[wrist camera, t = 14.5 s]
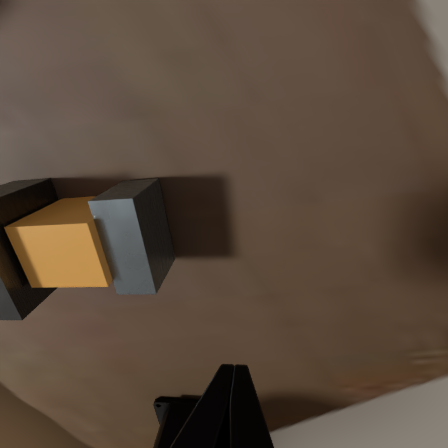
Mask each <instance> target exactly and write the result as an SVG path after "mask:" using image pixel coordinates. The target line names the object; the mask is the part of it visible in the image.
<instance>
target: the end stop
mask: <svg viewBox="0 0 448 448" xmlns="http://www.w3.org/2000/svg"><path fill="white" fill-rule="evenodd" d="M56 201H59V200H58V198H57V195H56V192H55V189H54V187H53V184H52V181H51V178H48V179H35V180H23V181H12V182H9V183H6V184H3V185H0V320H23V319H24V318H25V317H26V316H27V315H28V314H29V313H31V312H32V311H33V310H34V309H35V308H36V307H37V306H38V305H39V304H40V303H41V302H43V301H44V300H45V299H46V298H47V297H48V296H49V295H50V294H51V293H52V292H53V291H54V290H56V289H57V288H58V287H41V288H32V287H31V285H30V283H29V281H28V279H27V276H26V274H25V272H24V270H23V268H22V266H21V263H20V261H19V259H18V257H17V255H16V253H15V250H14V248H13V246H12V244H11V242H10V240H9V237H8V235H7V233H6V231H5V229H4V227H6V226H8V225H10V224H12V223H14V222H16V221H18V220H20V219H22V218H24V217H26V216H28V215H30V214H32V213H34V212H36V211H38V210H40V209H42V208H44V207H46V206H48V205H50V204H52V203H54V202H56Z"/></svg>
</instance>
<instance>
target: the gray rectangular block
mask: <svg viewBox="0 0 448 448" xmlns="http://www.w3.org/2000/svg"><path fill="white" fill-rule="evenodd" d="M88 204H89V207H90V210H91V213H92V216H93V220H94V223H95V226H96V229H97V232H98V235H99V238H100V242H101V245H102V248H103V251H104V254H105V257H106V260H107V264H108V267H109V270H110V273H111V276H112V279H113V283H114V286H115V289H116V292H117V294H156V293H157V292H158V290H159V288H160V286H161V284H162V282H163V281H164V279H165V277H166V275H167V273H168V271H169V270H170V268H171V266H172V264H173V262H174V260H175V256H174V251H173V246H172V241H171V236H170V231H169V226H168V221H167V216H166V211H165V206H164V202H163V197H162V192H161V187H160V182H159V178H156V179H143V180H130V181H122V182H120V183H118V184H117V185H115V186H113V187H111V188H110V189H108V190H106V191H105V192H103V193H101V194H99V195H98V196H96V197H94V198H93V199H91V200H89V201H88Z"/></svg>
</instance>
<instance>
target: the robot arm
mask: <svg viewBox="0 0 448 448" xmlns="http://www.w3.org/2000/svg"><path fill="white" fill-rule="evenodd" d="M153 405H154V409H155V412H156V415H157V418H158V421H159V424H160V427H159V430H158V434H157V437H156V440H155V443H154V447H153V448H274V446H273V443H272V440H271V437H270V434H269V431H268V427H267V424H266V421H265V418H264V415H263V412H262V409H261V406H260V403H259V400H258V397H257V393H256V390H255V387H254V384H253V381H252V378H251V375H250V372H249V369H248V366H247V365H239V364H237V365H235V366H234V365H233V364H222V365H221V366H220V367H219V369H218V371H217V372H216V374H215V375H214V377H213V379H212V380H211V382H210V383H209V385H208V387H207V388H206V390H205V392H204V393H203V395H202V396H201V398H200V400H181V399H162V398H157V399H155V401H154V404H153Z"/></svg>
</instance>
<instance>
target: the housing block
mask: <svg viewBox="0 0 448 448" xmlns="http://www.w3.org/2000/svg"><path fill="white" fill-rule="evenodd" d="M94 197H96V196H92V197H77V198H63V199H61V200H59V201H56V202H54V203H52V204H50V205H48V206H46V207H44V208H42V209H40V210H38V211H36V212H34V213H32V214H30V215H28V216H26V217H24V218H22V219H20V220H18V221H16V222H14V223H12V224H10V225H8V226H6V227H4V229H5V231H6V233H7V235H8V237H9V240H10V242H11V244H12V246H13V248H14V250H15V253H16V255H17V257H18V259H19V261H20V263H21V266H22V268H23V270H24V272H25V274H26V276H27V279H28V281H29V283H30V285H31V287H32V288H41V287H108V286H109V285H110V284H111V282H112V281H113V279H112V276H111V273H110V270H109V267H108V264H107V260H106V257H105V254H104V251H103V248H102V245H101V242H100V238H99V235H98V232H97V229H96V226H95V223H94V220H93V216H92V213H91V210H90V207H89V204H88V201H89V200H91V199H93V198H94Z"/></svg>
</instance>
